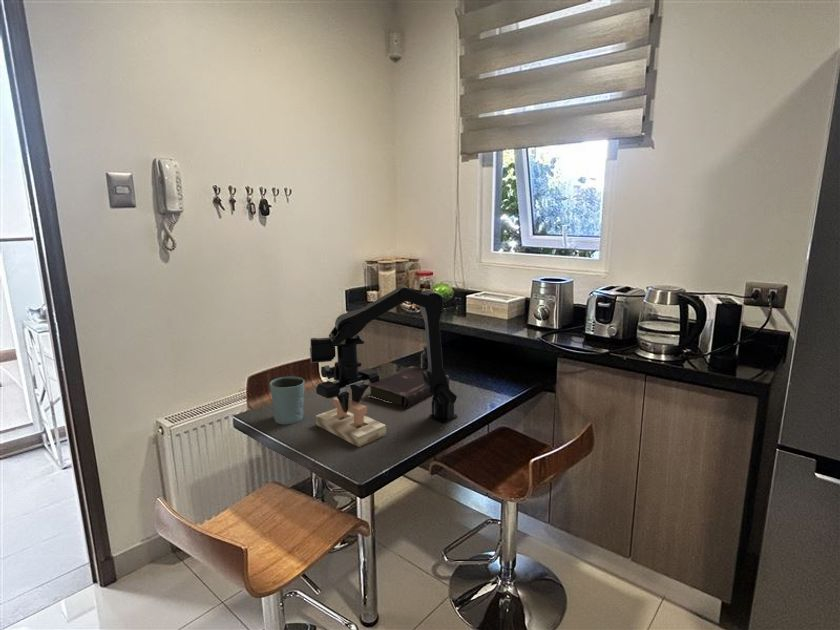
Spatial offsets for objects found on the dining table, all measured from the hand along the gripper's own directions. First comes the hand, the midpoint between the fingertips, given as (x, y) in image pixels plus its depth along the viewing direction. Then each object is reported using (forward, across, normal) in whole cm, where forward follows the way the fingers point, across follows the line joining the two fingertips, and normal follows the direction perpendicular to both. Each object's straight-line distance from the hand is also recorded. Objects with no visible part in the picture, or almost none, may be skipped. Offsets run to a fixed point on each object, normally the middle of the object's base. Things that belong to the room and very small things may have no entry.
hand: (350, 410), depth 143 cm
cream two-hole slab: (+6, 0, 0) cm, 6 cm away
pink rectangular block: (+2, 0, 0) cm, 2 cm away
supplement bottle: (+6, -49, -14) cm, 51 cm away
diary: (+7, -33, -9) cm, 35 cm away
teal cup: (+6, +8, -20) cm, 22 cm away
